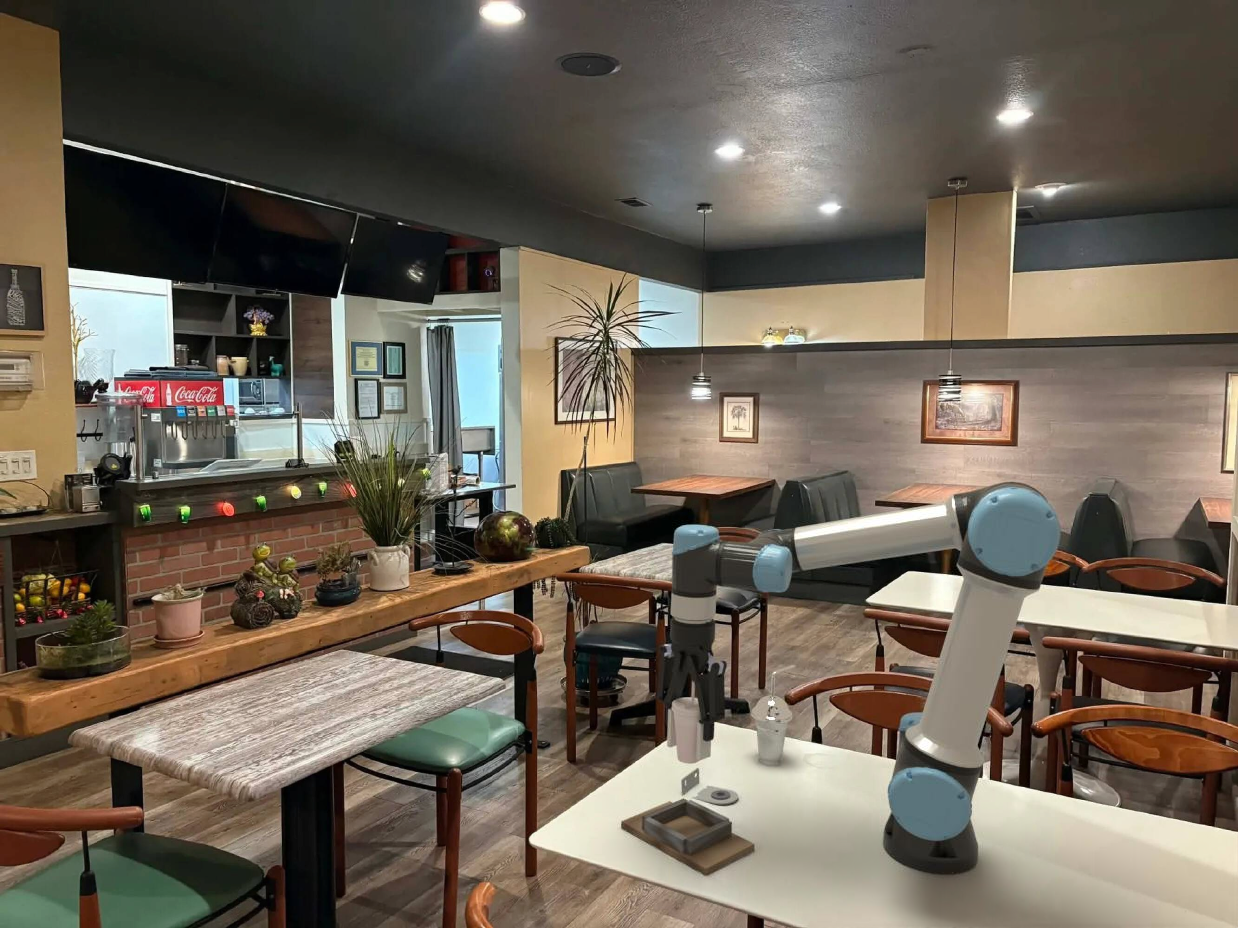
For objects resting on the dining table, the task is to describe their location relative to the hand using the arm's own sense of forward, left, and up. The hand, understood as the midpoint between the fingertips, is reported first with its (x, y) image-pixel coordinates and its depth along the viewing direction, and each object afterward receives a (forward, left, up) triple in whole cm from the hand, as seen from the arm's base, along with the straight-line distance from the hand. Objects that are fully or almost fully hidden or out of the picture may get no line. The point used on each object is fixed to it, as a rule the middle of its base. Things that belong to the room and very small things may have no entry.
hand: (688, 750), depth 153 cm
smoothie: (0, 0, -2) cm, 2 cm away
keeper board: (0, 0, -16) cm, 16 cm away
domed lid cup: (+11, -37, -16) cm, 42 cm away
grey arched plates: (+9, -16, -16) cm, 25 cm away
